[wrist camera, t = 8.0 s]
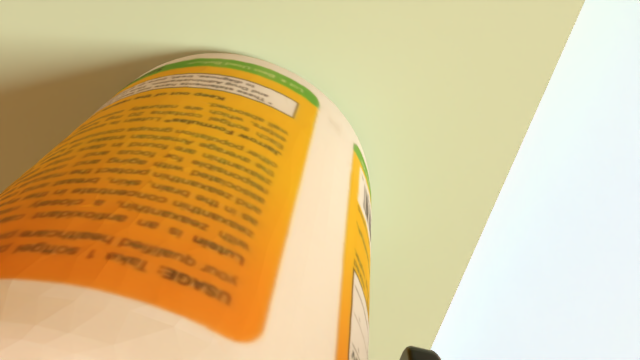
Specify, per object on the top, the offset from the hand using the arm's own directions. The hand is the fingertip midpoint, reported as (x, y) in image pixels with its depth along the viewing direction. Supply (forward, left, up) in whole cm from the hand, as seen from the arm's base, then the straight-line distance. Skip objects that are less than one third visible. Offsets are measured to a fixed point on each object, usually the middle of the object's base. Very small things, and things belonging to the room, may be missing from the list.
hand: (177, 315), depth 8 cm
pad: (0, 0, -4) cm, 4 cm away
